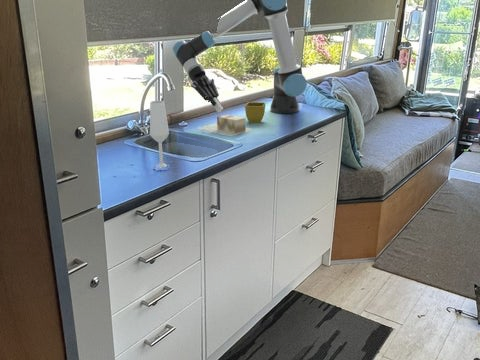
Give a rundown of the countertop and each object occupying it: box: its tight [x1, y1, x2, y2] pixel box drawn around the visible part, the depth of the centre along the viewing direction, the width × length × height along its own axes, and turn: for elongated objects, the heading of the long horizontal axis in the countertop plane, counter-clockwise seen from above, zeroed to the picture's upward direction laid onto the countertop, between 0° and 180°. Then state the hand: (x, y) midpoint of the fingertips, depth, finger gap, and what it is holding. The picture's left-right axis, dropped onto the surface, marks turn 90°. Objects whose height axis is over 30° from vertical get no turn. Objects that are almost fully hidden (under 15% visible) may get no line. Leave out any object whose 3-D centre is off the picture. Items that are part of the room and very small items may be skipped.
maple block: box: [216, 114, 246, 135], centre depth 227 cm, size 6×6×12 cm
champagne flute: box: [149, 100, 170, 168], centre depth 176 cm, size 7×7×24 cm
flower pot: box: [244, 101, 266, 124], centre depth 243 cm, size 9×9×9 cm
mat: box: [195, 123, 255, 137], centre depth 231 cm, size 22×16×1 cm
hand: (220, 110), depth 229 cm, fingers closed
